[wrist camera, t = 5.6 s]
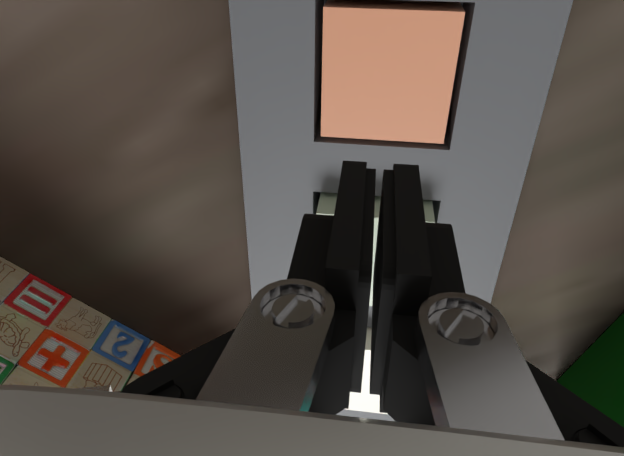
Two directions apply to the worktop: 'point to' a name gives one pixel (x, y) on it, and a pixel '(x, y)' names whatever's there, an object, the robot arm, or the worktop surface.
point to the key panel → (382, 153)
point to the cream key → (365, 386)
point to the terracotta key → (389, 68)
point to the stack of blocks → (66, 339)
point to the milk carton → (601, 373)
